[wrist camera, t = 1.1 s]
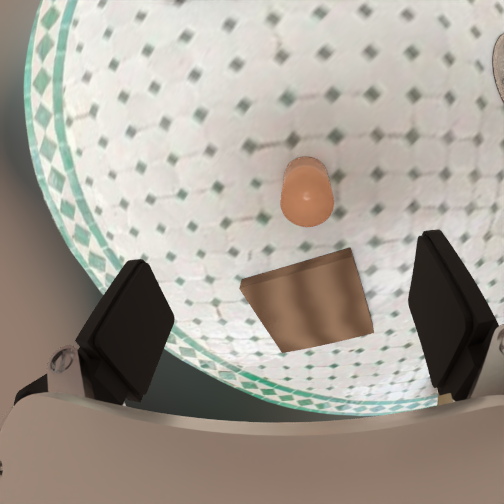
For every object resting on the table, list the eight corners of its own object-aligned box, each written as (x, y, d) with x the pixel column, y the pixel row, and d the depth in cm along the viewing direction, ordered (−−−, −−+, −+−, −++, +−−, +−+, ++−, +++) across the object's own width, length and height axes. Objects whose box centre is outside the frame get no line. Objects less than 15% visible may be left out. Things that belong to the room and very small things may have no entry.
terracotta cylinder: (318, 150, 30) (323, 171, 25) (333, 189, 33) (340, 217, 27) (277, 165, 32) (271, 189, 26) (294, 202, 34) (292, 233, 29)
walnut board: (350, 247, 37) (352, 256, 35) (372, 323, 44) (373, 332, 43) (241, 279, 43) (239, 288, 41) (283, 343, 50) (282, 352, 48)
